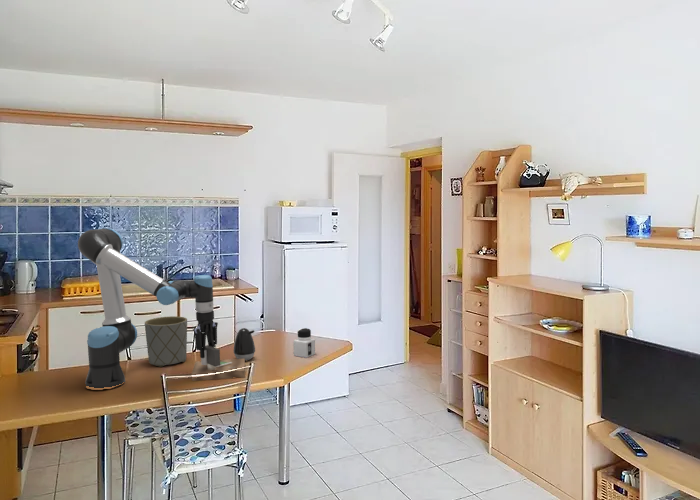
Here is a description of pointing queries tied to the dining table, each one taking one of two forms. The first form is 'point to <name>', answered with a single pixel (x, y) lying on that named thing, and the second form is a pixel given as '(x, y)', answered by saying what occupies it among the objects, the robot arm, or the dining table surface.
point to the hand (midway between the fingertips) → (207, 363)
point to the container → (304, 343)
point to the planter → (166, 340)
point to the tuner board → (220, 370)
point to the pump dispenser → (244, 344)
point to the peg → (213, 357)
